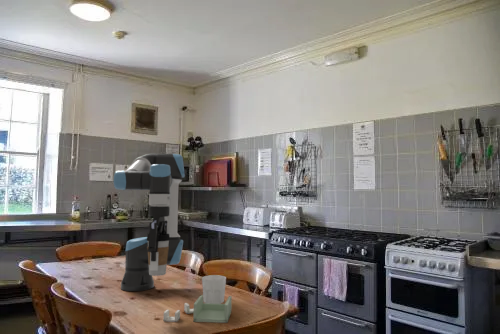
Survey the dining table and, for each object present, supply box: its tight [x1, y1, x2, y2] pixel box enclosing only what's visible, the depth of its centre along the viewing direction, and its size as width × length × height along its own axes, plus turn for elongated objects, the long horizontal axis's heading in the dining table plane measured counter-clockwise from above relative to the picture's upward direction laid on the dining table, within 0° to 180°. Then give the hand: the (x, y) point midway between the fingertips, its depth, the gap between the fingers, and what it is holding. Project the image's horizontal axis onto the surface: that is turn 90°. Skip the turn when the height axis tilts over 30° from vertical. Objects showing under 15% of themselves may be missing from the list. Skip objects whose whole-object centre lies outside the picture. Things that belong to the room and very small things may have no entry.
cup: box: [201, 274, 227, 304], centre depth 159 cm, size 10×10×10 cm
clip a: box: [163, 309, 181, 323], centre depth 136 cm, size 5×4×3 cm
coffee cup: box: [146, 232, 170, 277], centre depth 141 cm, size 8×8×15 cm
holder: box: [192, 294, 233, 324], centre depth 140 cm, size 12×12×6 cm
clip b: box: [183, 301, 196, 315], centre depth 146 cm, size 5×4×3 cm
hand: (157, 268), depth 141 cm, fingers closed on coffee cup, 7 cm apart
